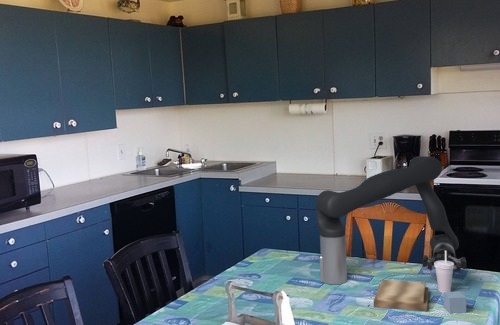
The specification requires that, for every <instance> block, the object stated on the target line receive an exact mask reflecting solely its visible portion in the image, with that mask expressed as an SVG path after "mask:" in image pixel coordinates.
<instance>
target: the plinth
mask: <svg viewBox="0 0 500 325" xmlns="http://www.w3.org/2000/svg"><path fill="white" fill-rule="evenodd" d="M429 292H430V291H429V286H428V287H427V286H426V282H424V281H410V280H409V281H408V280H395V279H394V280H393V279H381V282H380V283H379V284H378V288H377V290H376V292H375V296H374V299H373V308H377V309H378V308H380V309H390V310H391V309H392V310H401V311H402V310H404V311H405V310H406V311H415V312H417V311H418V312H425V313H426V312H428V303H429V294H430V293H429Z"/></svg>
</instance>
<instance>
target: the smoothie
mask: <svg viewBox="0 0 500 325" xmlns="http://www.w3.org/2000/svg"><path fill="white" fill-rule="evenodd" d="M434 266H435V267H434V268H435V274H436V281H437V288H438V289H437V290H438V292H439V293H442V294H443V292H452V290H451V289H452V282H453V272H454V269H455V268H454V263H453V262H450V261H447V251H446V250H445V261H436V262H434ZM453 268H454V269H453Z"/></svg>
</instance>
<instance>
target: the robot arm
mask: <svg viewBox="0 0 500 325" xmlns="http://www.w3.org/2000/svg"><path fill="white" fill-rule="evenodd" d="M408 164H409V165H408V167H403V168H397V169H396V168H395V169H392V170H385V171H382V172H379V173H376V174H374V175H372V176H370V177H367V178H366V179H365V180H364V181H363V182H361V183H360V184H358V185H357V186H356V187H353V188H351V189H349V190H346V191H342V192H337V191H333V190H329V189H327V190H324V191H322V192H320V193H319V194H318V196H317V197H316V202H315V212H316V213H315V214H316V224H317V228H318V230H319V240H320V242H319V244H320V256H319V277H320V278H319V279H320V283H324V284H327V285H328V284H329V285H341V284H345V283H347V282H348V271H347V270H348V268H347V267H348V266H347V244H346V243H347V240H346V239H347V238H346V228H345V226H344V225H343V223H342V220H341V218H342V217H345V216H346V215H348V214H349V213H352V212H354V211H355V210H358V209H359V208H362V207H364V206H366V205H369V204H372V203H375V202H377V201H379V200H384V199H386V198H389V197H391V196H392V195H396V194H398V193H400V192H402V191H404V190H407V189H409V188H411V187H413V186H415V188H416V190H417V192H418V194H419V195H420V199H421V201H422V203H423V206H424V209H425V213H426V216H427V220H428V224H429V227H430V229H431V230H432V231H434V232H443V234H442V233H441V234H436V235H433V236H432V237H431V238H430V240H429V244H430V248H431V249H432V252H433V255H432V257H429V256H428V255H426V254H424V255H423V257H422V267H423V268H425V267H427V270H429V271H431V272H432V270H433V268H435V266H434V262H436V261H445V250H446V251H447V261H450V262H453V263H454V268H453V270H454V269H456V271H455V272H456V273H460V272H461V271H462V269H463V270H467V260H466V257H464V256H462V257H461V258H457V257H456V251H457V250H458V249H459V247H460V243H459V242H460V241H459V239H458V237H457V235H456V234H455V232H454V231H453V229H452V227H451V225H450V223H449V219H448V217H447V212H446V209H445V206H444V204H443V202H442V201H441V200H440V198H439V196H438V195H437V194H436V192H435V191H434V188H433V187H432V184H431V181H434V180H436V179H437V178H439V176H441V173H442V172H443V165H442V162H441V161H440V160H439V159H438V158H436V157H434V156H425V155H423V156H422V155H420V156H414V157H413V158H411V160H410V161H409V163H408Z"/></svg>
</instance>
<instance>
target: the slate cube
mask: <svg viewBox="0 0 500 325" xmlns="http://www.w3.org/2000/svg"><path fill="white" fill-rule="evenodd" d="M442 294H443V308H444V310H445V311H446V310H447V311H448V312H449V313H450V315H451V314H452V315H453V313H457V314H467V297H466V295H464V294H463V293H462V292H461V291H459V290H457V291H450V292H443V293H442ZM448 312H447V313H448ZM449 313H448V314H449Z"/></svg>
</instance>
